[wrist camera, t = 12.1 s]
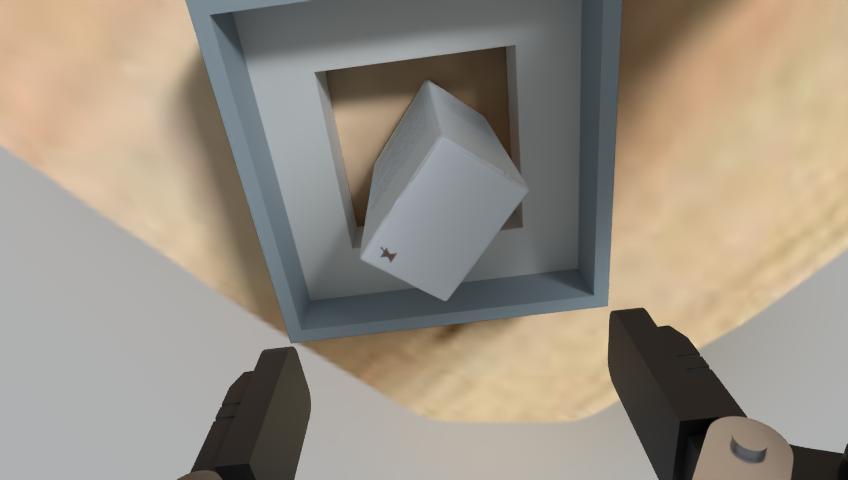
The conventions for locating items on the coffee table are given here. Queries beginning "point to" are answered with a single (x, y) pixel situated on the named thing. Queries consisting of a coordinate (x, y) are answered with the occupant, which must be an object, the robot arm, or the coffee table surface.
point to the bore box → (325, 172)
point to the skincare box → (438, 194)
